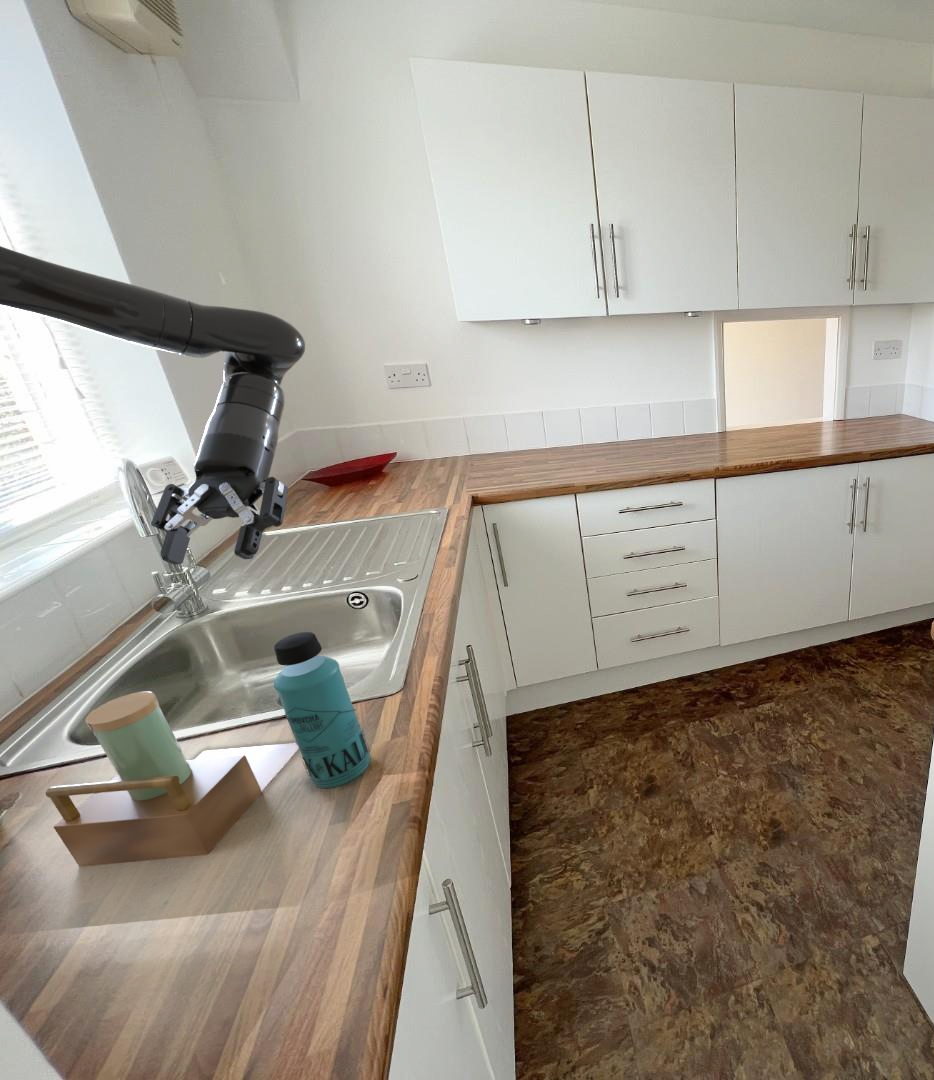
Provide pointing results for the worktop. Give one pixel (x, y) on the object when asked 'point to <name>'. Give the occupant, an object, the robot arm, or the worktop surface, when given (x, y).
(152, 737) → the spice jar
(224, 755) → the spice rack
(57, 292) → the robot arm
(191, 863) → the worktop surface
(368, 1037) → the worktop surface
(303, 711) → the beverage bottle
